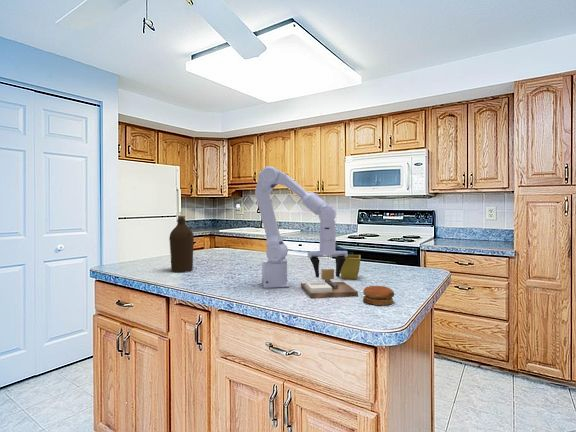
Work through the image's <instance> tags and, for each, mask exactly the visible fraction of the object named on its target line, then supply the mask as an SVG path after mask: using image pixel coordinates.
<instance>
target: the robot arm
mask: <svg viewBox="0 0 576 432" xmlns="http://www.w3.org/2000/svg"><path fill="white" fill-rule="evenodd" d="M257 177H258V178H257V181H256V182H257V183H256V186H255V189H254V193H255V198H256V201H257V206H258V210H259V213H260V216H261V221H262V223H263V228H264V232H265V235H266V242H265V244H266V253H265V254H266V258H267V261H266V262H262V263H261V284H262V286H263V288H264V289H269V288H270V289H272V288H290V287H291V286H290V284H289V283H288V260H287V258H286V257H287V256H288V252H289V249H288V246H287V245H286V244H285V243H284V238H282V235H281V233H280V231H279V226H278V223H277V219H276V215H275V211H274V207H273V204H272V200H271V199H272V198H271V196H270V195H271V193H272V192H273V190H274V188H275V187H276V186H278V185H281V186H285V187H286V188H287V189H288V190H290V191H291V192H293V193H294V194H295V195H296V196H298V197H299V198H300V199H301V200H302V205H304V206H305V207H306V208H307V209H308V210H309V211H310V212H312V213H313V214H314V215H316V216H318V218H319V220H320V221H319V223H320V225H319V250H316V251H315V250H314V251H307V258H309V260H310V262H311V263H312V268H313V270H314V274H315V278H317V279H318V278H320V259H319V258H332V257H333V258H334V260H335V276H336V277H337V278H340V276H341V273H340V271H341V268H342V266H343V264H344V262H345V259H346V258H345V257H348V255H349V254H348V251H347V250H336V237H337V236H336V234H337V233H336V221H335V218H337V217H336V216H337V213H336V209H334V207H332V206H330V205H329V202H327V201H326V202H325V201H324V199H322V198H321V197H320V196H319V194H318V193H317V192H313V191H311V192H308V191H307V190H305V188H303V186H301V185H300V184H299V183H298V182H297V181H295V180H294V179H293V178H292V177H291V176H289V175H288V174H287V173H284V172H283V171H281V170H280V169H278V168H275V167H273V166H272V165H267V166H264V167H263V168H262V169H261V171H260V172H259V173H258V176H257Z"/></svg>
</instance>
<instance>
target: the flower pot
mask: <svg viewBox="0 0 576 432" xmlns="http://www.w3.org/2000/svg"><path fill="white" fill-rule="evenodd" d="M345 258H346V259H345V262H344V264H343V266H342V268H341V271H340V276H341V277H342V279H344V280H346V279H347V280H352V279H353V280H356V279H357V278H358V275H359V272H360V266H361V254H348V257H345Z"/></svg>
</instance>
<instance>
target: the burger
mask: <svg viewBox="0 0 576 432" xmlns="http://www.w3.org/2000/svg"><path fill="white" fill-rule="evenodd" d="M362 292H363V295H364V296H363V297H362V300H363V302H364V303H368V304H370V305H375V306H390V305H393V302H394V297H395V292H394V290H393V289H392V288H390V287H388V286H384V285H383V286H382V285H368V286H366V287H364V288H363V290H362Z"/></svg>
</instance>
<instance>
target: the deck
mask: <svg viewBox="0 0 576 432" xmlns="http://www.w3.org/2000/svg"><path fill="white" fill-rule="evenodd" d="M332 282H333V283H335V284H337V285H338V289H334V288H332V292H321V293H311V292H310V291H309V290H308V289H307V288H306V287H305V282H304V283H301V284H300V288H301V289H302V290H303V292H304V293H305V294H306V295H307V296H308V297H309V298H310V299H327V298H345V297H358V296H359V293H358V290H356V289H355V288H353V287H352V286H350V285H349V284H347V283H346V282H344V281H332Z"/></svg>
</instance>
